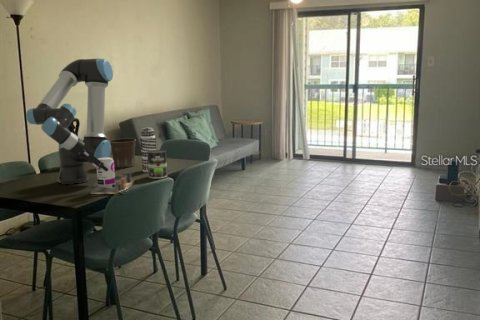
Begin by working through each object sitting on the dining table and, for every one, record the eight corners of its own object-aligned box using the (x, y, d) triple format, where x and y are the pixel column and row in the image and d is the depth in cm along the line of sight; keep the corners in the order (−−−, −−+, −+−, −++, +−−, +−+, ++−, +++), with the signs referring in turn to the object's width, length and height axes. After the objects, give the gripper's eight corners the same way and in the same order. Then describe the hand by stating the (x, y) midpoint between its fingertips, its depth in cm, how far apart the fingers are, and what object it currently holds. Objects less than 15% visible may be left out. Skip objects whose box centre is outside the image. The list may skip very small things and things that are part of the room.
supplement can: (117, 186, 234) (115, 156, 231) (113, 190, 226) (111, 159, 223) (100, 187, 234) (98, 157, 231) (96, 191, 226) (93, 160, 223)
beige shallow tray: (89, 195, 224) (88, 182, 222) (104, 182, 250) (103, 170, 249) (124, 194, 224) (123, 181, 223) (134, 181, 251) (133, 169, 249)
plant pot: (131, 169, 283) (130, 142, 280) (106, 168, 285) (104, 142, 282) (141, 163, 298) (140, 138, 296) (117, 163, 301) (115, 138, 298)
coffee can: (168, 177, 257) (167, 152, 254) (149, 179, 254) (147, 153, 251) (166, 174, 266) (165, 149, 264) (147, 175, 264) (146, 150, 261)
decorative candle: (146, 172, 270) (143, 129, 266) (139, 170, 278) (136, 127, 273) (160, 170, 276) (158, 127, 271) (153, 168, 283) (151, 126, 278)
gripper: (61, 147, 228) (95, 173, 238) (74, 154, 207) (110, 182, 217) (72, 135, 229) (105, 162, 240) (85, 140, 209) (121, 170, 219)
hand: (107, 172), depth 229 cm, fingers open, 13 cm apart
